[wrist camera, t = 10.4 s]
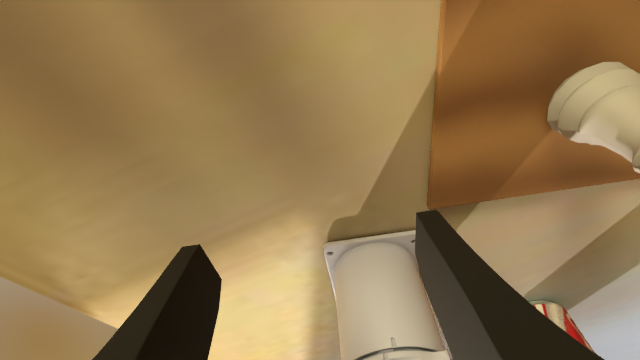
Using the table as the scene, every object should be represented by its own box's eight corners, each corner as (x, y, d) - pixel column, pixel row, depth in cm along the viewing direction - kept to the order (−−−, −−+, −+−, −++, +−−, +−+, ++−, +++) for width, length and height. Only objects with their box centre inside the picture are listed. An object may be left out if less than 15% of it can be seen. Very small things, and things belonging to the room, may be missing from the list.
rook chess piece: (548, 142, 20) (656, 238, 14) (535, 87, 18) (659, 174, 12) (627, 106, 19) (785, 195, 13) (625, 40, 17) (820, 112, 10)
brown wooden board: (661, 169, 23) (669, 174, 23) (426, 204, 24) (429, 209, 24) (839, -103, 14) (859, -103, 13) (442, -25, 15) (446, -23, 14)
